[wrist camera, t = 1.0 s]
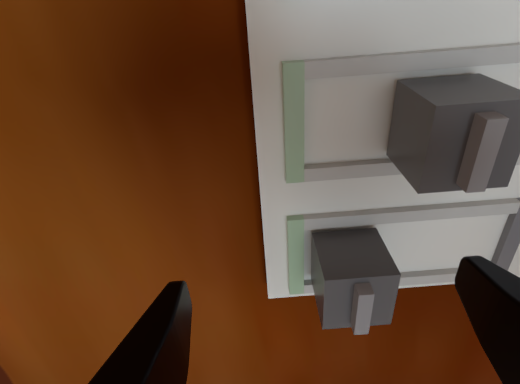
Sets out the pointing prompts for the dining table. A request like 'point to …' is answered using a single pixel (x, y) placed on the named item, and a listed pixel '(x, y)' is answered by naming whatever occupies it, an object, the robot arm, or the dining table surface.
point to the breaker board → (370, 131)
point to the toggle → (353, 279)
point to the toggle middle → (455, 132)
